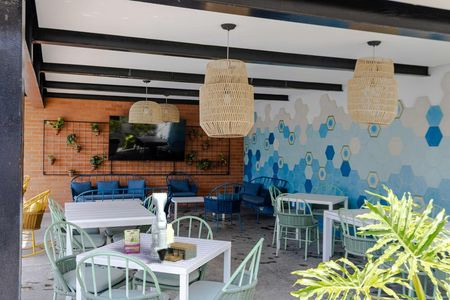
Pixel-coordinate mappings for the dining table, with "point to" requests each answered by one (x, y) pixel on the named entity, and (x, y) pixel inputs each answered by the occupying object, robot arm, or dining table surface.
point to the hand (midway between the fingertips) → (161, 260)
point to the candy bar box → (132, 241)
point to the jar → (169, 234)
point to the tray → (173, 259)
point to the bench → (187, 254)
